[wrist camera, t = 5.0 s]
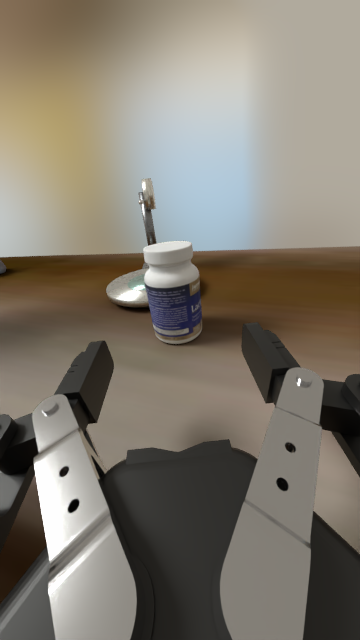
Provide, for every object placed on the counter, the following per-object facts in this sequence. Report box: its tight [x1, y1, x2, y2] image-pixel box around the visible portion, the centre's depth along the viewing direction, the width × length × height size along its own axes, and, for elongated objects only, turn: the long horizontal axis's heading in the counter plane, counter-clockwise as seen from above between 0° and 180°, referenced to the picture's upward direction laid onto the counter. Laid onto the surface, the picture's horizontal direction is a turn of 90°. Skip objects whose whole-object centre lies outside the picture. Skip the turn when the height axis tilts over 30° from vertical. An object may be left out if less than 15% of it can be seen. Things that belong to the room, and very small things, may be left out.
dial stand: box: [139, 178, 156, 269], centre depth 40 cm, size 6×10×17 cm, turn 3°
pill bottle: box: [143, 241, 202, 344], centre depth 22 cm, size 6×6×10 cm
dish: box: [106, 268, 150, 308], centre depth 35 cm, size 15×15×2 cm
